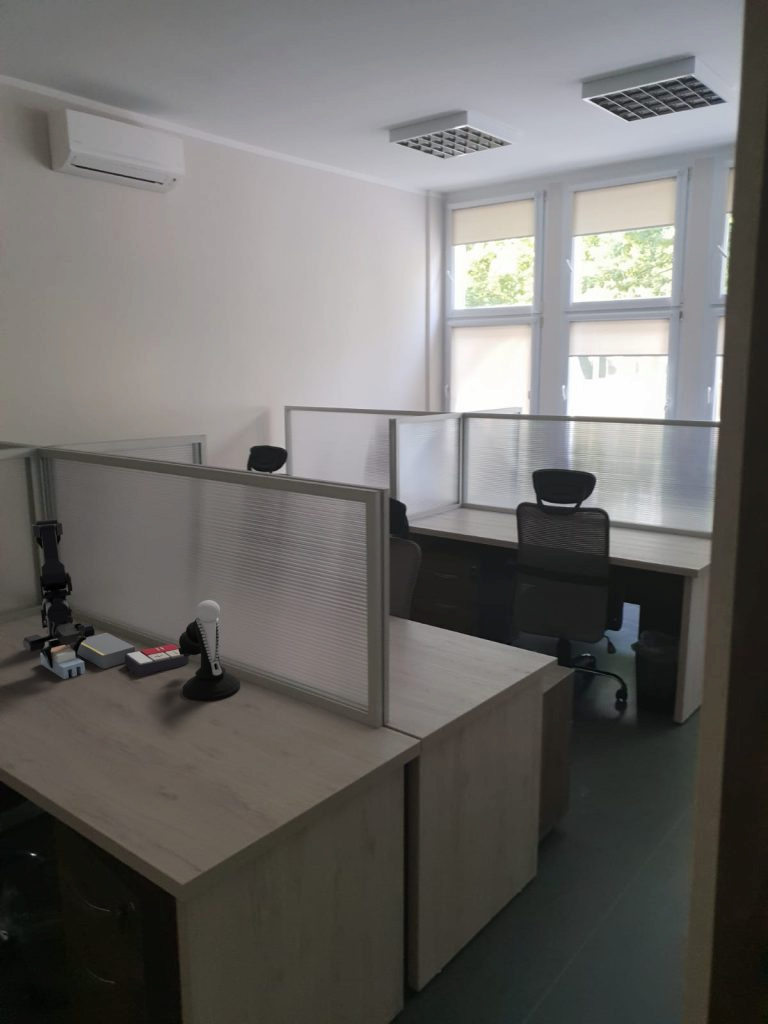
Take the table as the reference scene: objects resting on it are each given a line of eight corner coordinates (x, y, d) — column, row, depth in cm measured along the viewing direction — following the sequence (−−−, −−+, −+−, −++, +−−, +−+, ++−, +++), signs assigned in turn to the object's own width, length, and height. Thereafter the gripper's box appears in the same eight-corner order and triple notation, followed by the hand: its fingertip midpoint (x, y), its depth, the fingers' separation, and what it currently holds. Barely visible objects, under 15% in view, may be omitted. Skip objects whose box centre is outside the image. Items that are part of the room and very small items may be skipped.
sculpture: (197, 706, 200) (191, 612, 195) (160, 678, 218) (154, 592, 214) (250, 690, 209) (246, 600, 205) (210, 664, 228) (205, 582, 223)
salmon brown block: (48, 656, 226) (47, 649, 226) (65, 652, 230) (64, 644, 230) (53, 659, 224) (52, 652, 224) (70, 655, 227) (69, 647, 227)
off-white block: (53, 659, 224) (52, 652, 223) (70, 655, 227) (69, 648, 227) (58, 663, 221) (57, 655, 221) (75, 658, 225) (74, 651, 224)
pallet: (41, 664, 230) (40, 653, 229) (61, 659, 234) (60, 647, 233) (64, 679, 219) (63, 667, 218) (85, 673, 223) (84, 661, 222)
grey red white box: (189, 652, 228) (139, 662, 219) (189, 666, 229) (139, 677, 220) (173, 642, 237) (124, 652, 227) (173, 656, 237) (124, 666, 228)
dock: (76, 653, 238) (75, 640, 237) (107, 644, 245) (106, 632, 244) (103, 668, 226) (102, 655, 225) (135, 659, 233) (134, 646, 232)
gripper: (35, 627, 211) (41, 681, 214) (101, 611, 224) (106, 662, 227) (19, 618, 219) (25, 671, 222) (84, 603, 232) (89, 653, 235)
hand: (62, 664), depth 226 cm, fingers closed on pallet, 6 cm apart
